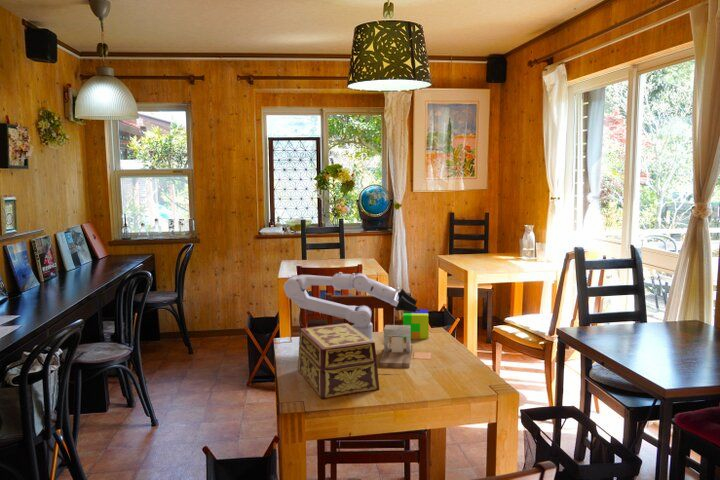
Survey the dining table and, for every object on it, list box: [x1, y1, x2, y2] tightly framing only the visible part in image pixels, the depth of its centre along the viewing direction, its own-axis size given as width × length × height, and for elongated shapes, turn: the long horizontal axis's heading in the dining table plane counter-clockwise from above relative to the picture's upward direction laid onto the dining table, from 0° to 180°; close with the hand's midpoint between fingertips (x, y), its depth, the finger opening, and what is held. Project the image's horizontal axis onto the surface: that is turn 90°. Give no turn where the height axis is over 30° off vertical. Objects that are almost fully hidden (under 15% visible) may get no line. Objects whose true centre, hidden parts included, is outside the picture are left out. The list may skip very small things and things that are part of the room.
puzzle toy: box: [402, 308, 430, 340], centre depth 225 cm, size 10×10×10 cm
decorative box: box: [297, 322, 380, 400], centre depth 178 cm, size 28×19×15 cm
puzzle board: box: [379, 344, 413, 369], centre depth 197 cm, size 10×20×2 cm, turn 172°
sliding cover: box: [383, 324, 412, 353], centre depth 201 cm, size 9×6×8 cm, turn 82°
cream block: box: [390, 336, 404, 352], centre depth 201 cm, size 4×4×7 cm
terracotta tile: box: [413, 351, 432, 360], centre depth 199 cm, size 6×7×1 cm
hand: (416, 306), depth 207 cm, fingers open, 7 cm apart
